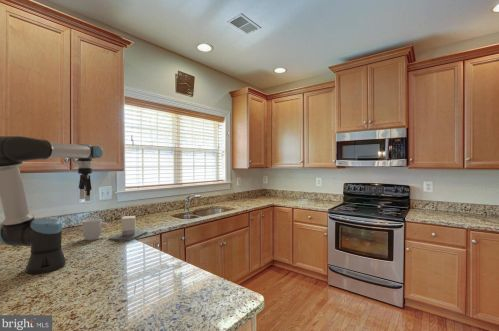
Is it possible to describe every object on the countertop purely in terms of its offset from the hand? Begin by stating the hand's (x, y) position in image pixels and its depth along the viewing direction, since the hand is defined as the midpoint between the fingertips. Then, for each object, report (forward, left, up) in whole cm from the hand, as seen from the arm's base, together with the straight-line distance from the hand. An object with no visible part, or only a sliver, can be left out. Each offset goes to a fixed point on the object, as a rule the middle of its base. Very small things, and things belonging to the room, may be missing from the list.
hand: (84, 199), depth 162 cm
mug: (+6, -2, -28) cm, 28 cm away
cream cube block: (+16, -21, -22) cm, 34 cm away
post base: (+16, -21, -28) cm, 38 cm away
